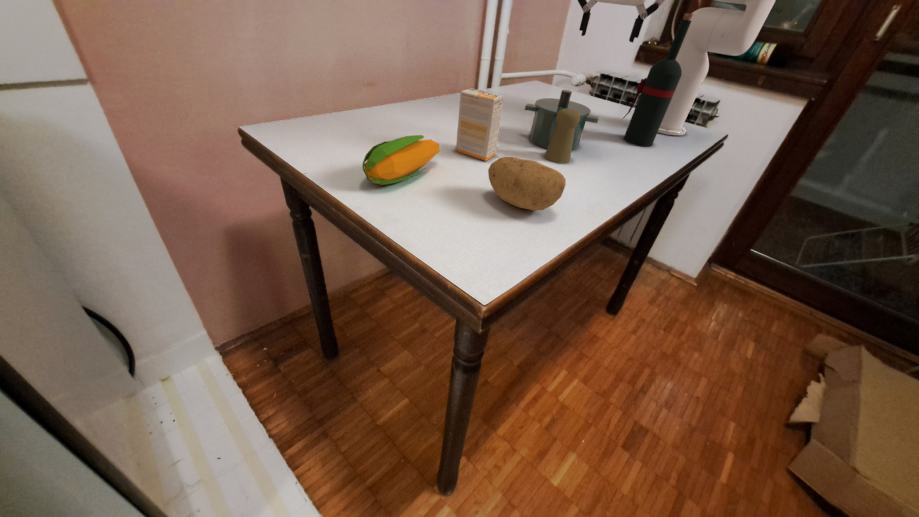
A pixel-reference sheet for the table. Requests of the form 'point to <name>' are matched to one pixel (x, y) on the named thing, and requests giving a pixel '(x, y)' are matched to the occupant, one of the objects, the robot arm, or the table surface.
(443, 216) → the table surface
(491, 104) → the supplement box
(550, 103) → the pot lid
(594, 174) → the table surface
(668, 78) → the wine bottle
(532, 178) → the potato
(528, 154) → the table surface
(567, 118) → the cork
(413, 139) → the corn
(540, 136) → the pot
